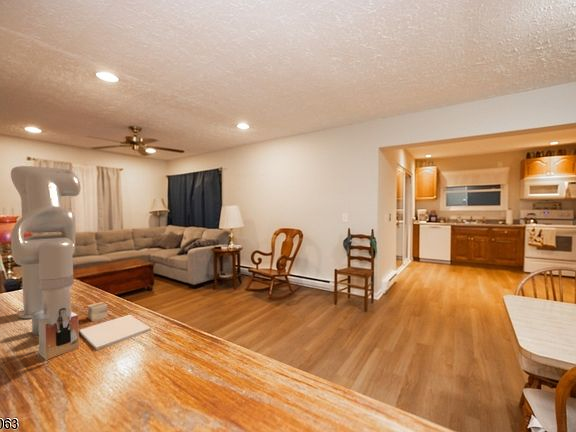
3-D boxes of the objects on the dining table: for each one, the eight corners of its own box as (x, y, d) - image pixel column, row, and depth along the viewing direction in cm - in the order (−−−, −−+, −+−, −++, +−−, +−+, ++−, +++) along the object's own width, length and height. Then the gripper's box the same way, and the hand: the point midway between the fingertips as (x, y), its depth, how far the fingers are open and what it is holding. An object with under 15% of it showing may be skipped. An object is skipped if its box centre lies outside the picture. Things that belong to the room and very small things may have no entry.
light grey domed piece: (31, 332, 90) (30, 312, 90) (48, 327, 94) (47, 308, 93) (33, 336, 87) (32, 315, 87) (51, 331, 91) (50, 311, 91)
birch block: (88, 318, 101) (87, 305, 101) (103, 313, 105) (102, 301, 105) (92, 321, 98) (91, 308, 98) (107, 317, 102) (107, 304, 102)
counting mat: (79, 332, 90) (79, 329, 90) (129, 316, 103) (129, 314, 103) (96, 350, 79) (96, 347, 79) (150, 330, 92) (150, 327, 92)
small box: (45, 361, 74) (44, 324, 73) (38, 355, 76) (37, 319, 76) (79, 347, 80) (78, 314, 80) (72, 342, 83) (71, 310, 83)
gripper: (34, 280, 80) (36, 335, 80) (46, 291, 69) (49, 354, 70) (65, 275, 86) (67, 326, 86) (81, 284, 75) (83, 342, 76)
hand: (59, 338), depth 78 cm, fingers open, 9 cm apart
